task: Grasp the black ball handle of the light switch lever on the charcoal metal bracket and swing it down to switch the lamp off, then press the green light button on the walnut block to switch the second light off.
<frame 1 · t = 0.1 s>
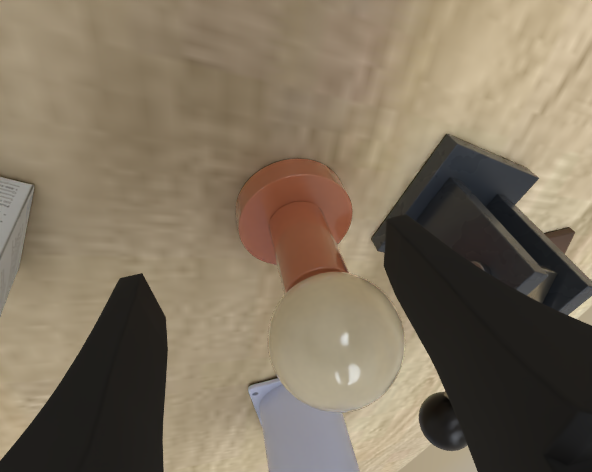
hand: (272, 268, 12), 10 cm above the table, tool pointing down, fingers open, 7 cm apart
globe lamp: (291, 206, 24), on the table
switch bracket: (447, 204, 26), on the table
button block: (504, 282, 34), on the table
switch lever: (477, 356, 22), point 9 cm above the table, hinge at 22.0°
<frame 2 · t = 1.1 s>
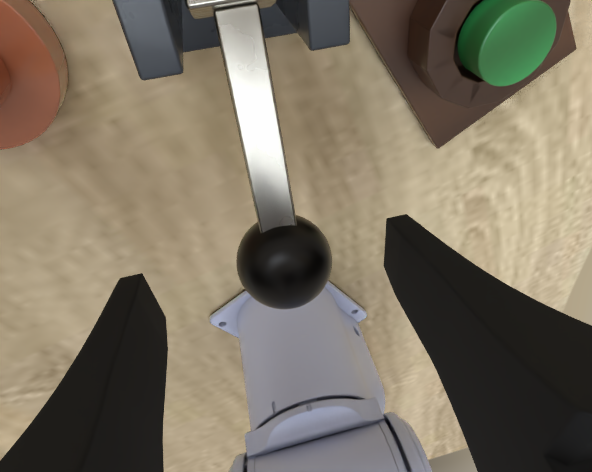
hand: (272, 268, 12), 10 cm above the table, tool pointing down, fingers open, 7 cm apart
light button: (504, 39, 17), point 3 cm above the table, slide at 0.1 cm
button block: (465, 19, 19), on the table
switch lever: (258, 127, 11), point 8 cm above the table, hinge at 18.3°
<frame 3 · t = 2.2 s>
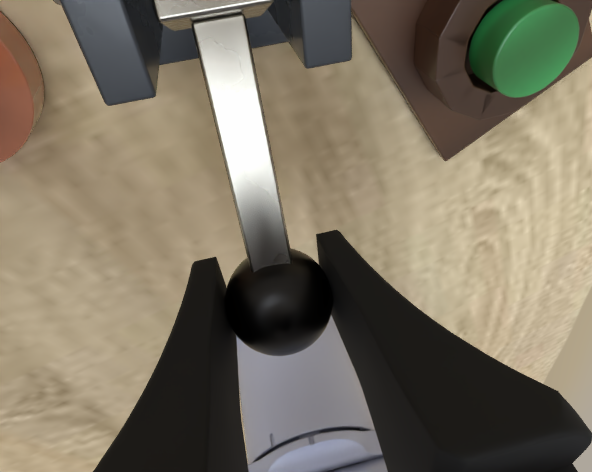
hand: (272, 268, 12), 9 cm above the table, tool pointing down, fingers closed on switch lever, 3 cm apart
light button: (521, 46, 15), point 3 cm above the table, slide at 0.1 cm
button block: (476, 24, 17), on the table
switch lever: (247, 154, 10), point 8 cm above the table, hinge at 18.3°, touching gripper
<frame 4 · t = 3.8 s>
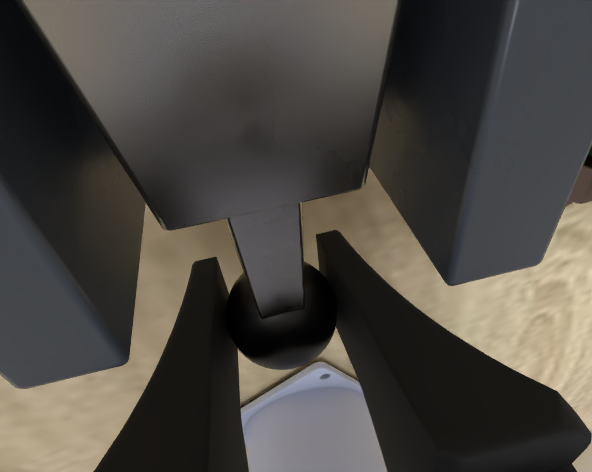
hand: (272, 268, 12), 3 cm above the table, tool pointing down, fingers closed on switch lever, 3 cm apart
button block: (576, 76, 13), on the table
switch lever: (268, 241, 7), point 6 cm above the table, hinge at -20.0°, touching gripper
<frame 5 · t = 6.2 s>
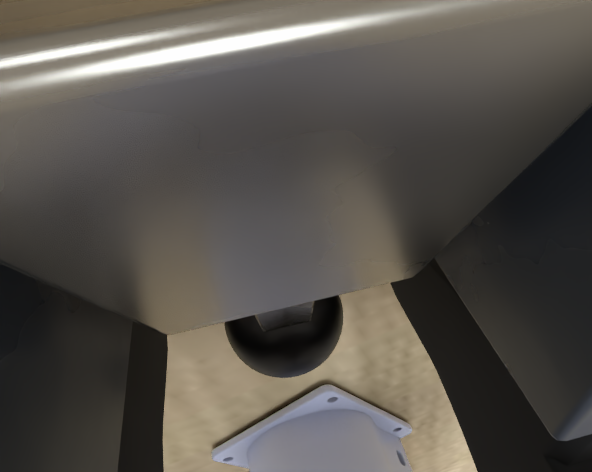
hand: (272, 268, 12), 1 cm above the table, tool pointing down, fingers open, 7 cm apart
switch lever: (277, 269, 7), point 5 cm above the table, hinge at -26.7°
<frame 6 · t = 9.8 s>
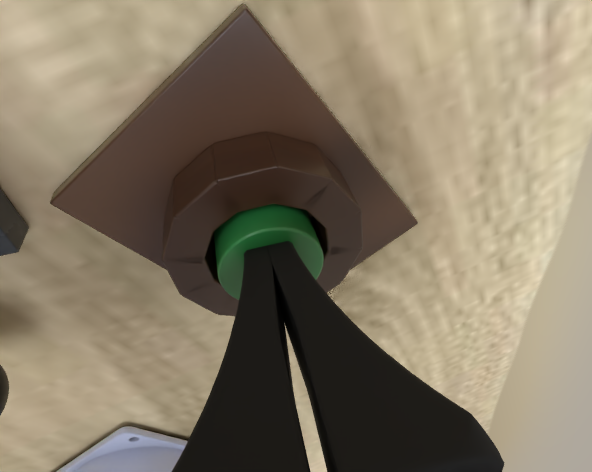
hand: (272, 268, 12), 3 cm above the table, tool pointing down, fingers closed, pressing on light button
light button: (267, 250, 13), point 2 cm above the table, slide at -0.6 cm, touching gripper
button block: (256, 204, 15), on the table
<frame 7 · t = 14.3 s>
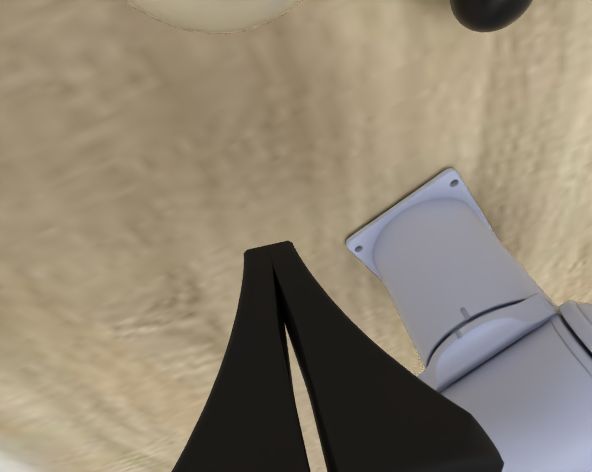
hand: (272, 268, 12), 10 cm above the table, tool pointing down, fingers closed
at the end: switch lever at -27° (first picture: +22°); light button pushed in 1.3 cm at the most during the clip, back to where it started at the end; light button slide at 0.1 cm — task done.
